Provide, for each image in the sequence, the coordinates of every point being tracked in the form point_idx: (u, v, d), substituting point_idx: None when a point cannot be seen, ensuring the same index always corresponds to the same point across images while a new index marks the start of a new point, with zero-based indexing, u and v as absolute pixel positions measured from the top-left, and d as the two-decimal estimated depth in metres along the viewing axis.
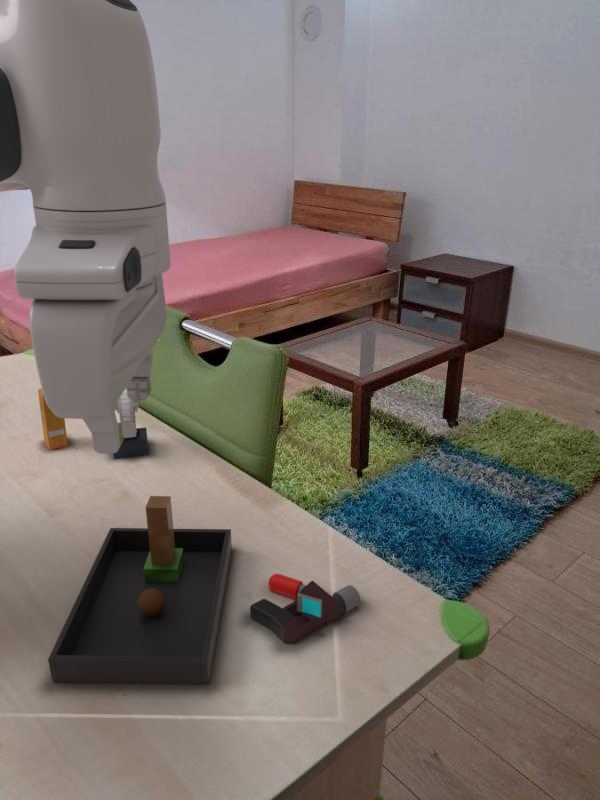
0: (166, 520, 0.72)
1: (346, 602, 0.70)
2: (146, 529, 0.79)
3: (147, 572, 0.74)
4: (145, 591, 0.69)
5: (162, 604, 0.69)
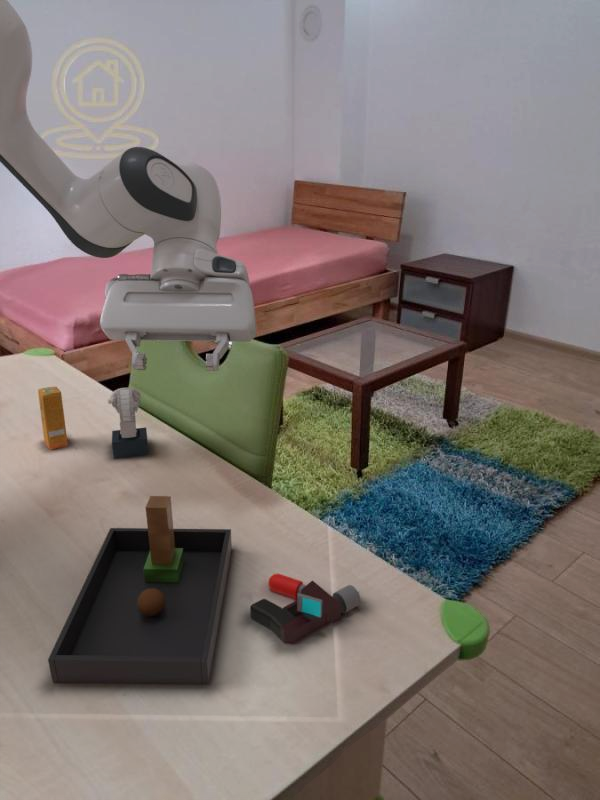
0: (166, 520, 0.72)
1: (346, 602, 0.70)
2: (146, 529, 0.79)
3: (147, 572, 0.74)
4: (145, 591, 0.69)
5: (162, 604, 0.69)
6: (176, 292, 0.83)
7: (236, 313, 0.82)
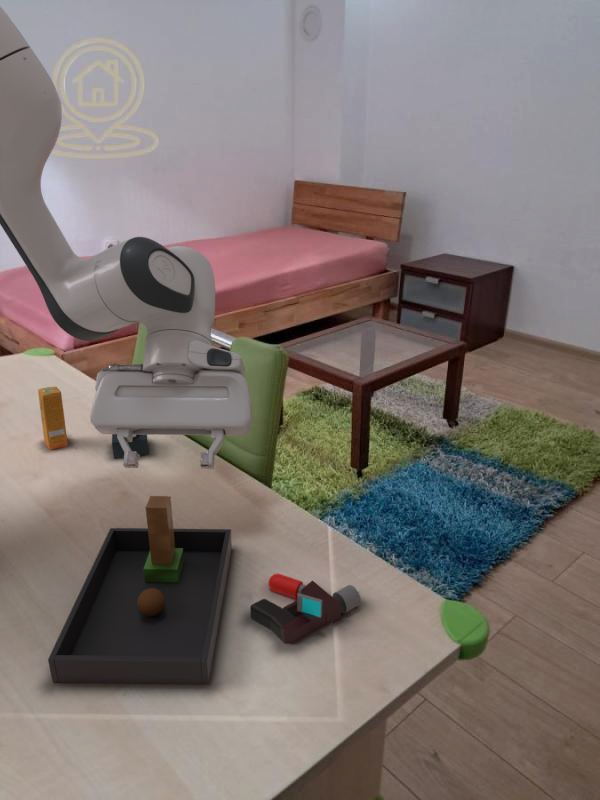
0: (166, 520, 0.72)
1: (346, 602, 0.70)
2: (146, 529, 0.79)
3: (147, 572, 0.74)
4: (145, 591, 0.69)
5: (162, 604, 0.69)
6: (170, 385, 0.80)
7: (232, 409, 0.79)
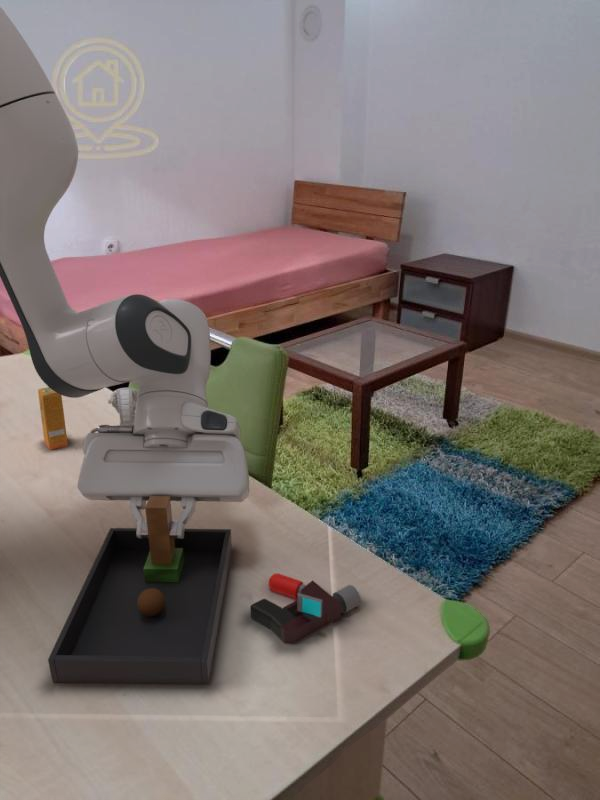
0: (166, 520, 0.72)
1: (346, 602, 0.70)
2: None
3: (147, 572, 0.74)
4: (145, 591, 0.69)
5: (162, 604, 0.69)
6: (162, 450, 0.76)
7: (228, 475, 0.75)
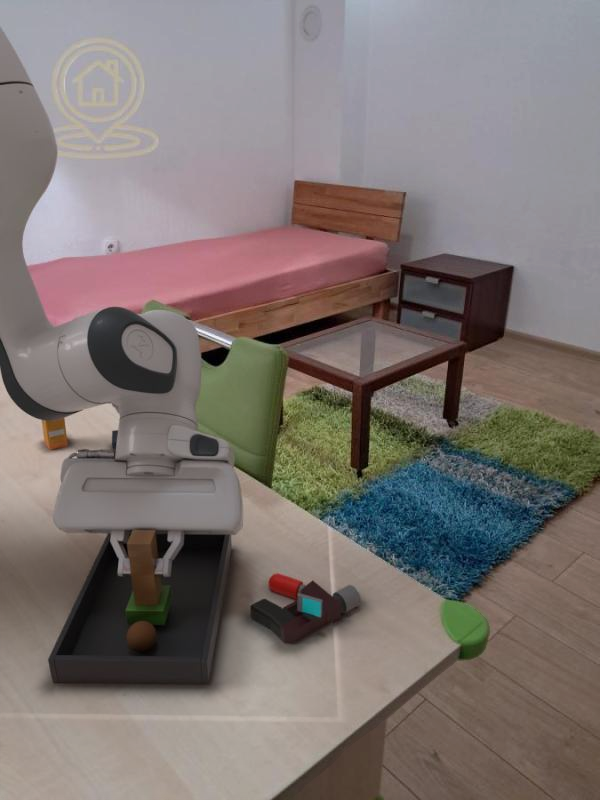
0: (150, 557, 0.65)
1: (346, 602, 0.70)
2: None
3: (130, 614, 0.67)
4: None
5: (155, 632, 0.66)
6: (146, 478, 0.68)
7: (219, 506, 0.67)
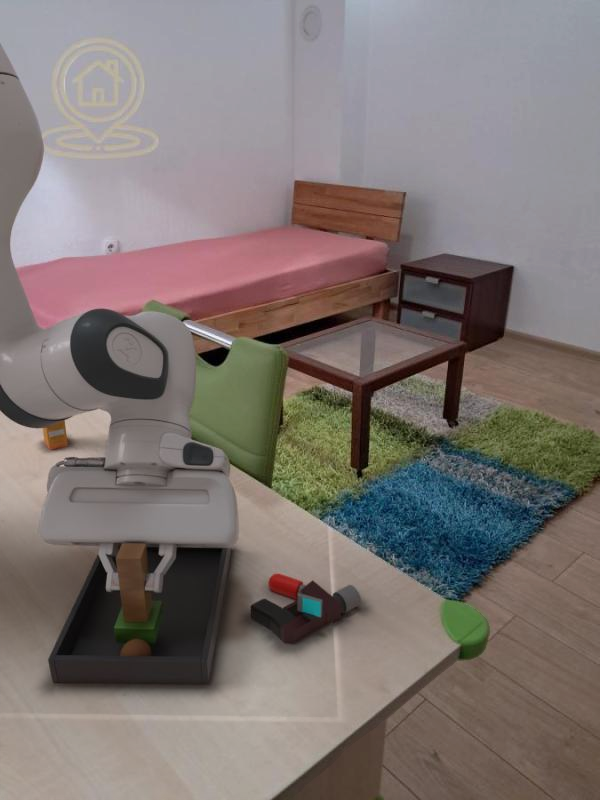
0: (140, 573, 0.61)
1: (346, 602, 0.70)
2: None
3: (118, 632, 0.63)
4: None
5: (149, 650, 0.62)
6: (137, 488, 0.65)
7: (213, 519, 0.64)
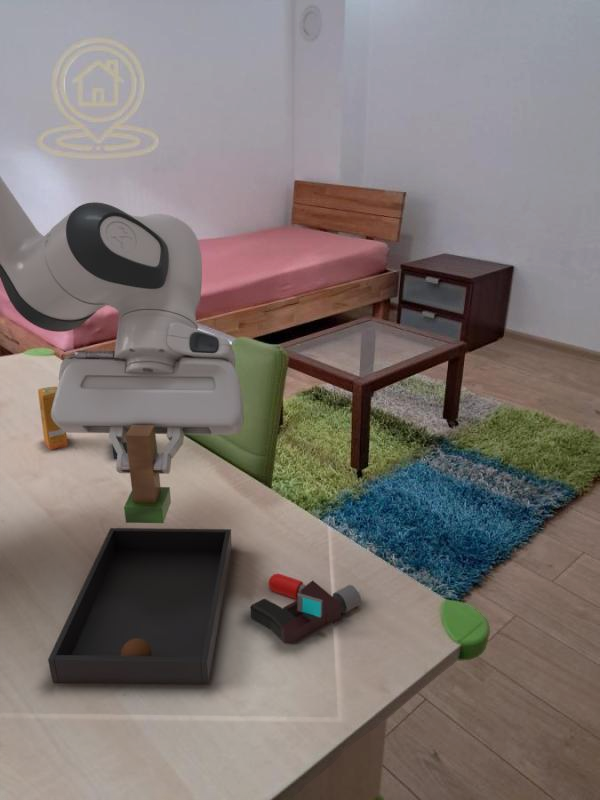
0: (149, 450, 0.64)
1: (346, 602, 0.70)
2: (146, 529, 0.79)
3: (128, 511, 0.66)
4: None
5: (149, 649, 0.63)
6: (146, 375, 0.68)
7: (219, 403, 0.66)
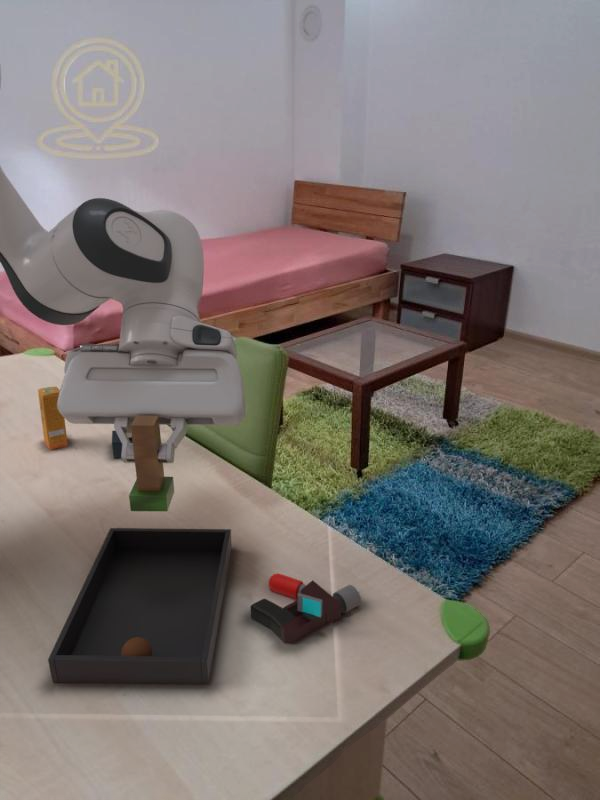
0: (153, 440, 0.66)
1: (346, 602, 0.70)
2: (146, 529, 0.79)
3: (133, 499, 0.68)
4: None
5: (149, 648, 0.63)
6: (149, 367, 0.69)
7: (221, 394, 0.68)
